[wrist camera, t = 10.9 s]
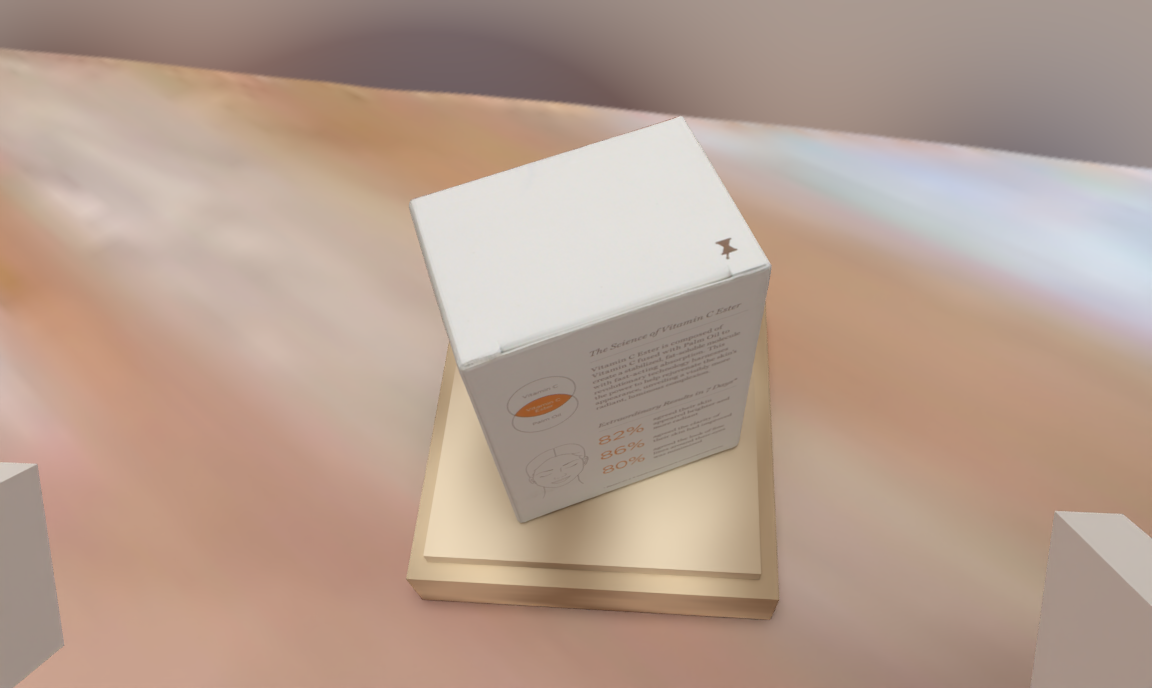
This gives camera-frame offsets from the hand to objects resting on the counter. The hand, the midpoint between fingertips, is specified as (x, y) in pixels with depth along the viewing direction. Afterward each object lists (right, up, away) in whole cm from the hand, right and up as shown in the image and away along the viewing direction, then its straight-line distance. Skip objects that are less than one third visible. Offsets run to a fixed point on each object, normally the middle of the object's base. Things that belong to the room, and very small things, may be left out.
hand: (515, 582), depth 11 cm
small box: (+2, 0, +19) cm, 19 cm away
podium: (+2, -1, +22) cm, 22 cm away
